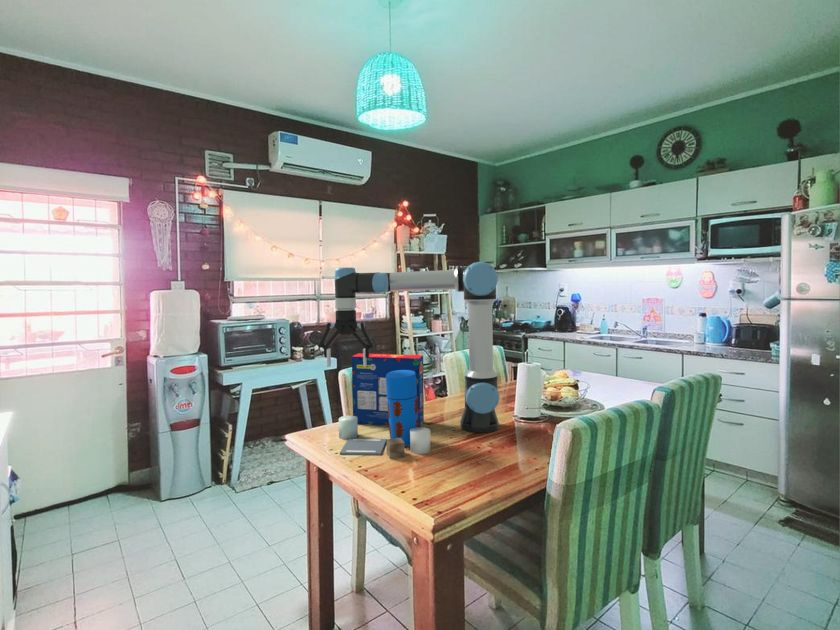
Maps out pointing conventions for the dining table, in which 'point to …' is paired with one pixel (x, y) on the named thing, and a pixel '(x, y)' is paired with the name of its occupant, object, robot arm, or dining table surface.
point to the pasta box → (381, 385)
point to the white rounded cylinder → (420, 440)
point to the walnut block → (395, 448)
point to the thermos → (402, 404)
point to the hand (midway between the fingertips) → (346, 366)
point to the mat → (363, 446)
